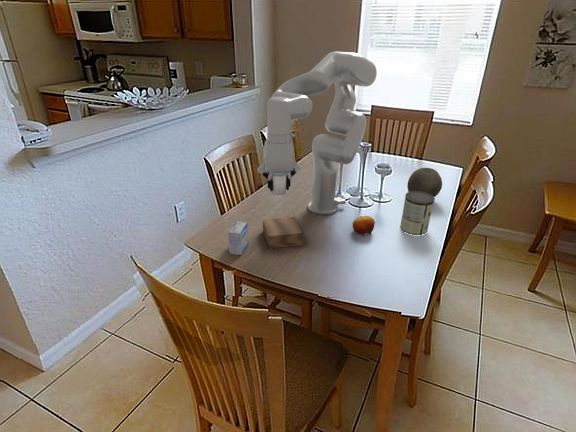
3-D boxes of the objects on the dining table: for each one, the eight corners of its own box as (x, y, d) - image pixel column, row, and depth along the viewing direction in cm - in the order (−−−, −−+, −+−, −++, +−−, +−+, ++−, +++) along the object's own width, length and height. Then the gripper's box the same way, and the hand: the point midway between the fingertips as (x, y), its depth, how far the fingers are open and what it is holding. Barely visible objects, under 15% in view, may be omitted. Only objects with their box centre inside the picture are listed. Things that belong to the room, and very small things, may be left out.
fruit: (364, 238, 134) (359, 217, 134) (352, 239, 141) (347, 219, 141) (381, 233, 138) (377, 212, 137) (369, 234, 145) (364, 214, 145)
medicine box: (242, 255, 126) (240, 233, 122) (229, 254, 127) (227, 232, 123) (248, 243, 133) (247, 222, 129) (236, 242, 133) (235, 220, 129)
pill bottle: (284, 188, 131) (285, 167, 128) (287, 194, 127) (288, 172, 123) (270, 189, 130) (270, 168, 127) (272, 195, 126) (272, 173, 122)
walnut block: (293, 228, 143) (294, 216, 140) (301, 244, 132) (302, 232, 130) (262, 231, 140) (262, 219, 138) (268, 248, 130) (268, 236, 128)
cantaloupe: (403, 203, 163) (409, 171, 156) (406, 191, 175) (412, 161, 168) (437, 210, 159) (444, 177, 152) (438, 197, 170) (445, 166, 163)
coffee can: (400, 221, 149) (406, 189, 143) (427, 225, 146) (434, 193, 140) (398, 233, 141) (404, 200, 134) (427, 238, 138) (434, 204, 131)
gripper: (302, 133, 124) (300, 183, 133) (251, 135, 121) (253, 186, 130) (307, 139, 118) (305, 192, 126) (254, 142, 115) (255, 195, 123)
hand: (279, 188), depth 128 cm, fingers closed on pill bottle, 5 cm apart
